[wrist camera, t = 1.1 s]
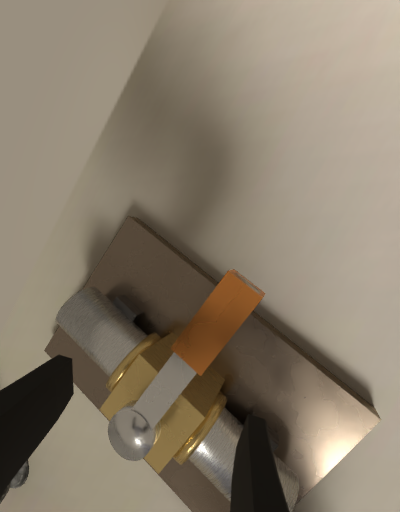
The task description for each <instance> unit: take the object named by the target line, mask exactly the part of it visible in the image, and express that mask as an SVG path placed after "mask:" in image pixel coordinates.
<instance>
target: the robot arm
mask: <svg viewBox="0 0 400 512" xmlns="http://www.w3.org/2000/svg"><path fill="white" fill-rule="evenodd" d="M73 394H74V392H73V363H72V358H69V357H66V356H62V355H57V356H55V357H54V358H52V359H50V360H49V361H47V362H46V363H44V364H42V365H41V366H39V367H38V368H36V369H35V370H33V371H31V372H30V373H28V374H27V375H25V376H23V377H22V378H20V379H19V380H17V381H15V382H14V383H12V384H10V385H9V386H7V387H5V388H4V389H2V390H0V496H1V495H2V493H3V492H4V490H5V489H6V488H7V486H8V485H9V483H10V482H11V481H12V479H13V478H14V477H15V475H16V474H17V473H18V471H19V470H20V469H21V467H22V466H23V465H24V464H25V462H26V461H27V460H28V458H29V457H30V456H31V454H32V453H33V452H34V450H35V449H36V448H37V447H38V445H39V444H40V443H41V441H42V440H43V439H44V437H45V436H46V435H47V433H48V432H49V431H50V429H51V428H52V427H53V425H54V424H55V423H56V421H57V420H58V419H59V417H60V415H61V414H62V412H63V411H64V409H65V407H66V406H67V404H68V402H69V401H70V399H71V397H72V396H73ZM230 512H290V511H289V508H288V505H287V502H286V499H285V495H284V492H283V488H282V485H281V481H280V478H279V475H278V471H277V467H276V463H275V459H274V455H273V451H272V447H271V443H270V438H269V433H268V428H267V422H266V421H265V419H263V418H260V417H257V416H253V415H250V414H248V415H247V418H246V421H245V424H244V427H243V429H242V432H241V435H240V438H239V440H238V443H237V446H236V451H235V458H234V465H233V473H232V482H231V503H230Z"/></svg>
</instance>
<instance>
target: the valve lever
mask: <svg viewBox="0 0 400 512" xmlns="http://www.w3.org/2000/svg"><path fill="white" fill-rule="evenodd" d="M264 295H265V293H264V292H263V291H262V290H260V289H259V288H258V287H256V286H255V285H254V284H252V283H251V282H250V281H249V280H247V279H246V278H245V277H243V276H242V275H241V274H240V273H238V272H237V271H236V270H234V269H233V270H229V271H228V272H227V273H226V274H225V276H224V277H223V278H222V280H221V281H220V282H219V284H218V285H217V286H216V288H215V289H214V290H213V292H212V293H211V294H210V296H209V297H208V298H207V300H206V301H205V302H204V304H203V305H202V306H201V308H200V309H199V311H198V312H197V313H196V315H195V316H194V317H193V319H192V320H191V321H190V323H189V324H188V325H187V327H186V328H185V329H184V331H183V332H182V333H181V335H180V336H179V337H178V339H177V340H176V341H175V343H174V344H173V345H172V347H171V348H170V349H172V350H173V351H174V353H173V354H172V356H171V357H170V358H169V360H168V361H167V362H166V364H165V365H164V366H163V368H162V369H161V370H160V372H159V373H158V374H157V376H156V377H155V378H154V380H153V381H152V382H151V384H150V385H149V386H148V388H147V389H146V390H145V392H144V393H143V394H142V396H141V397H140V398H139V400H133V401H130V402H128V403H127V404H126V405H125V406H123V407H122V408H121V409H120V410H119V411H118V412H117V413H116V414H115V415H114V416H113V417H112V418H111V420H110V422H109V426H108V436H109V440H110V443H111V445H112V447H113V448H114V450H115V451H116V452H117V453H118V454H119V455H120V456H121V457H123V458H125V459H127V460H131V461H137V460H140V459H142V458H144V457H145V456H146V455H147V454H148V452H149V451H150V449H151V448H152V447H153V445H154V444H155V443H156V441H157V440H158V438H159V436H160V432H161V424H160V419H161V418H162V417H163V415H164V414H165V413H166V412H167V410H168V409H169V408H170V406H171V405H172V404H173V403H174V401H175V400H176V399H177V398H178V396H179V395H180V394H181V392H182V391H183V390H184V389H185V387H186V386H187V385H188V384H189V382H190V381H191V380H192V379H193V377H194V376H195V375H196V373H198V374H199V375H200V376H201V375H202V374H203V373H204V371H205V370H206V369H207V368H208V366H209V365H210V364H211V363H212V361H213V360H214V359H215V358H216V356H217V355H218V354H219V352H220V351H221V350H222V349H223V347H224V346H225V345H226V344H227V342H228V341H229V340H230V339H231V337H232V336H233V335H234V334H235V332H236V331H237V330H238V329H239V327H240V326H241V325H242V323H243V322H244V321H245V320H246V318H247V317H248V316H249V315H250V313H251V312H252V311H253V310H254V308H255V307H256V306H257V305H258V303H259V302H260V301H261V300H262V298H263V297H264Z"/></svg>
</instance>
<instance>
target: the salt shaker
mask: <svg viewBox="0 0 400 512" xmlns="http://www.w3.org/2000/svg"><path fill="white" fill-rule="evenodd" d="M28 473H29V465H28V460H27V461H26V462H25V464H24V465H23V466H22V467H21V469H20V470H19V471H18V473H17V474H16V475H15V477H14V478H13V479H12V481H11V482H10V483H9V485H8V486H7V488H6V489H5V490H4V492H3V493H2V495H1V496H0V503H1V502H2V500H3V499H4V497H5V496H6V494H7V493H8V491H9V488H18V487H20V486H22V485H23V484H24V483H25V481H26V480H27V477H28Z"/></svg>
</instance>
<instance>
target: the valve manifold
mask: <svg viewBox="0 0 400 512" xmlns="http://www.w3.org/2000/svg"><path fill="white" fill-rule="evenodd" d="M218 284H219V283H218V282H217V281H216V280H214V279H213V278H212V277H211V276H209V275H208V274H207V273H206V272H204V271H203V270H202V269H201V268H199V267H198V266H197V265H196V264H194V263H193V262H192V261H191V260H189V259H188V258H187V257H186V256H184V255H183V254H182V253H181V252H179V251H178V250H177V249H176V248H174V247H173V246H172V245H171V244H169V243H168V242H167V241H166V240H164V239H163V238H162V237H161V236H159V235H158V234H157V233H156V232H154V231H153V230H152V229H151V228H149V227H148V226H147V225H146V224H144V223H143V222H142V221H141V220H139V219H138V218H135V217H131V216H128V217H127V219H126V221H125V222H124V224H123V225H122V227H121V229H120V230H119V232H118V233H117V235H116V237H115V238H114V240H113V241H112V243H111V245H110V246H109V248H108V249H107V251H106V253H105V254H104V256H103V257H102V259H101V261H100V262H99V264H98V265H97V267H96V269H95V270H94V272H93V273H92V275H91V277H90V278H89V280H88V281H87V283H86V284H85V286H84V288H83V289H82V290H81V291H79V292H78V293H76V294H75V295H73V296H72V297H71V298H70V299H69V300H68V301H67V302H66V303H65V304H64V305H63V306H62V307H61V309H60V310H59V312H58V314H57V317H56V322H57V324H58V325H59V328H58V329H57V331H56V332H55V334H54V336H53V337H52V339H51V340H50V342H49V344H48V345H47V347H46V348H45V350H44V351H45V352H46V353H47V354H48V355H49V356H50V357H51V358H54V357H55V356H57V355H62V356H66V357H69V358H72V363H73V382H74V383H75V384H76V386H77V387H78V388H79V389H80V390H81V391H82V392H83V393H84V394H85V395H86V396H87V398H88V399H89V400H90V401H91V402H92V403H93V404H94V405H95V406H96V407H97V408H98V409H99V411H100V412H101V413H102V414H103V415H104V416H105V417H106V418H107V419H108V420H109V421H110V420H111V418H112V417H113V416H114V415H115V414H116V413H117V412H118V411H119V410H120V409H121V408H122V407H123V406H125V405H126V404H127V403H128V402H130V401H133V400H139V398H140V397H141V396H142V394H143V393H144V392H145V390H146V389H147V388H148V386H149V385H150V384H151V382H152V381H153V380H154V378H155V377H156V376H157V374H158V373H159V372H160V370H161V369H162V368H163V366H164V365H165V364H166V362H167V361H168V360H169V358H170V357H171V356H172V354H173V353H174V351H173V350H172V349H170V348H171V347H172V345H173V344H174V343H175V341H176V340H177V339H178V337H179V336H180V335H181V333H182V332H183V331H184V329H185V328H186V327H187V325H188V324H189V323H190V321H191V320H192V319H193V317H194V316H195V315H196V313H197V312H198V311H199V309H200V308H201V306H202V305H203V304H204V302H205V301H206V300H207V298H208V297H209V296H210V294H211V293H212V292H213V290H214V289H215V288H216V286H217V285H218ZM248 414H250V415H253V416H257V417H260V418H263V419H265V421H266V422H267V428H268V433H269V438H270V443H271V447H272V451H273V455H274V459H275V463H276V467H277V471H278V475H279V478H280V481H281V485H282V488H283V492H284V495H285V499H286V502H287V505H288V508H289V511H290V512H292V511H293V508H294V506H295V505H296V504H297V503H298V502H299V501H300V500H301V499H302V498H303V497H304V496H305V495H306V494H307V493H308V492H309V491H310V490H311V489H312V488H313V487H314V486H315V485H316V484H317V483H318V482H319V481H320V480H321V479H322V478H323V477H324V476H325V475H326V474H327V473H328V472H329V471H330V470H331V469H332V468H333V467H334V466H335V465H336V464H337V463H338V462H339V461H340V460H341V459H342V458H343V457H344V456H345V455H346V454H347V453H348V452H349V451H350V450H351V449H352V448H353V447H354V446H355V445H356V444H357V443H358V442H359V441H360V440H361V439H362V438H363V437H364V436H365V435H366V434H367V433H368V432H370V431H371V430H372V429H373V428H374V427H375V426H376V425H377V424H378V423H379V422H380V421H381V419H380V417H379V415H378V413H377V411H376V409H375V408H374V407H373V406H372V405H370V404H369V403H368V402H367V401H365V400H364V399H363V398H362V397H360V396H359V395H358V394H357V393H355V392H354V391H353V390H352V389H350V388H349V387H348V386H347V385H345V384H344V383H343V382H342V381H340V380H339V379H338V378H337V377H335V376H334V375H333V374H332V373H330V372H329V371H328V370H327V369H325V368H324V367H323V366H322V365H320V364H319V363H318V362H317V361H315V360H314V359H313V358H312V357H310V356H309V355H308V354H307V353H305V352H304V351H303V350H302V349H300V348H299V347H298V346H297V345H295V344H294V343H293V342H292V341H290V340H289V339H288V338H287V337H285V336H284V335H283V334H282V333H280V332H279V331H278V330H277V329H275V328H274V327H273V326H272V325H270V324H269V323H268V322H267V321H265V320H264V319H263V318H262V317H260V316H259V315H258V314H257V313H255V312H254V311H252V312H251V313H250V315H249V316H248V317H247V318H246V320H245V321H244V322H243V323H242V325H241V326H240V327H239V329H238V330H237V331H236V332H235V334H234V335H233V336H232V337H231V339H230V340H229V341H228V342H227V344H226V345H225V346H224V347H223V349H222V350H221V351H220V352H219V354H218V355H217V356H216V358H215V359H214V360H213V361H212V363H211V364H210V365H209V366H208V368H207V369H206V370H205V371H204V373H203V374H202V375H201V376H200V375H199V374H198V373H196V375H195V376H194V377H193V379H192V380H191V381H190V382H189V384H188V385H187V386H186V387H185V389H184V390H183V391H182V392H181V394H180V395H179V396H178V398H177V399H176V400H175V401H174V403H173V404H172V405H171V406H170V408H169V409H168V410H167V412H166V413H165V414H164V415H163V417H162V418H161V419H160V424H161V432H160V436H159V438H158V440H157V441H156V443H155V444H154V445H153V447H152V448H151V449H150V451H149V452H148V454H147V455H146V456H145V457H144V458H143V459H144V460H145V461H146V462H147V463H148V464H149V465H150V466H151V467H152V468H153V469H154V471H155V472H156V473H157V474H158V475H159V476H160V477H161V478H162V479H163V480H164V481H165V483H166V484H167V485H168V486H169V487H170V488H171V489H172V490H173V491H174V492H175V493H176V494H177V496H178V497H179V498H180V499H181V500H182V501H183V502H184V503H185V504H186V505H187V506H188V508H189V509H190V510H191V511H192V512H230V503H231V482H232V473H233V465H234V458H235V451H236V446H237V443H238V440H239V438H240V435H241V432H242V429H243V427H244V424H245V421H246V418H247V415H248Z"/></svg>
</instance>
